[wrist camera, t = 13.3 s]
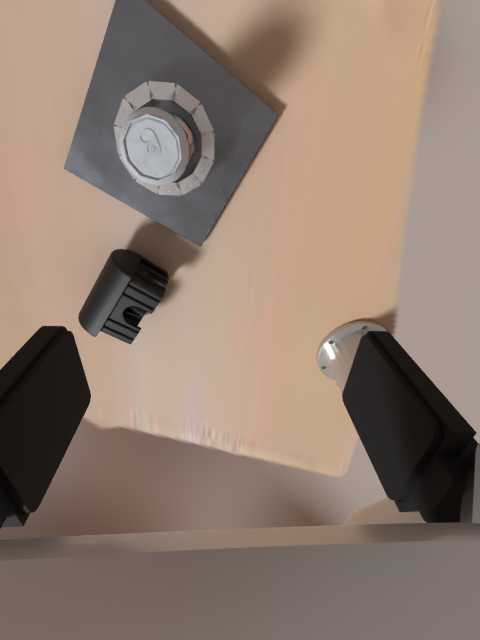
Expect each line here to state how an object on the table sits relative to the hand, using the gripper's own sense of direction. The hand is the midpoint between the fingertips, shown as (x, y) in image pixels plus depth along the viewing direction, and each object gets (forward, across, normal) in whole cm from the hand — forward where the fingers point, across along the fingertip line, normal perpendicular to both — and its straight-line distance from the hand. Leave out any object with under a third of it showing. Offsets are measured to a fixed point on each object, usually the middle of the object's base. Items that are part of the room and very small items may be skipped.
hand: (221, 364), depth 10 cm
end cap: (+30, +12, +11) cm, 34 cm away
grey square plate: (+29, +5, -6) cm, 30 cm away
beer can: (+28, +5, -6) cm, 29 cm away
